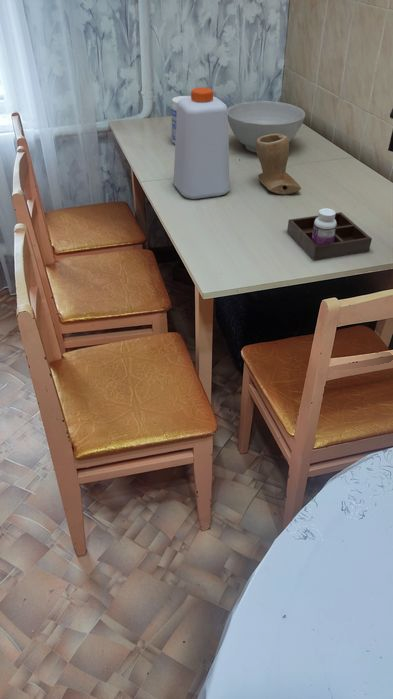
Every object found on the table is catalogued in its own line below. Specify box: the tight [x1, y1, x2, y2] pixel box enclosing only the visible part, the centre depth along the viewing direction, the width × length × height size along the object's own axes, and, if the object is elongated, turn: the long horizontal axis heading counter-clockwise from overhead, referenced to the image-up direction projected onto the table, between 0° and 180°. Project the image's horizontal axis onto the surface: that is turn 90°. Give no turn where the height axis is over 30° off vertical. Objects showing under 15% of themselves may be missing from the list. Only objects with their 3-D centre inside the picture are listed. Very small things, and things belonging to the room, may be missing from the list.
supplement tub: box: [171, 95, 191, 145], centre depth 192 cm, size 10×10×15 cm
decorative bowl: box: [227, 100, 306, 154], centre depth 189 cm, size 27×27×12 cm
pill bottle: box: [312, 207, 337, 245], centre depth 133 cm, size 5×5×10 cm
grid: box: [286, 211, 372, 261], centre depth 139 cm, size 15×15×4 cm
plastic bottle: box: [173, 87, 231, 200], centre depth 156 cm, size 15×15×28 cm
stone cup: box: [256, 134, 302, 195], centre depth 162 cm, size 15×12×15 cm
